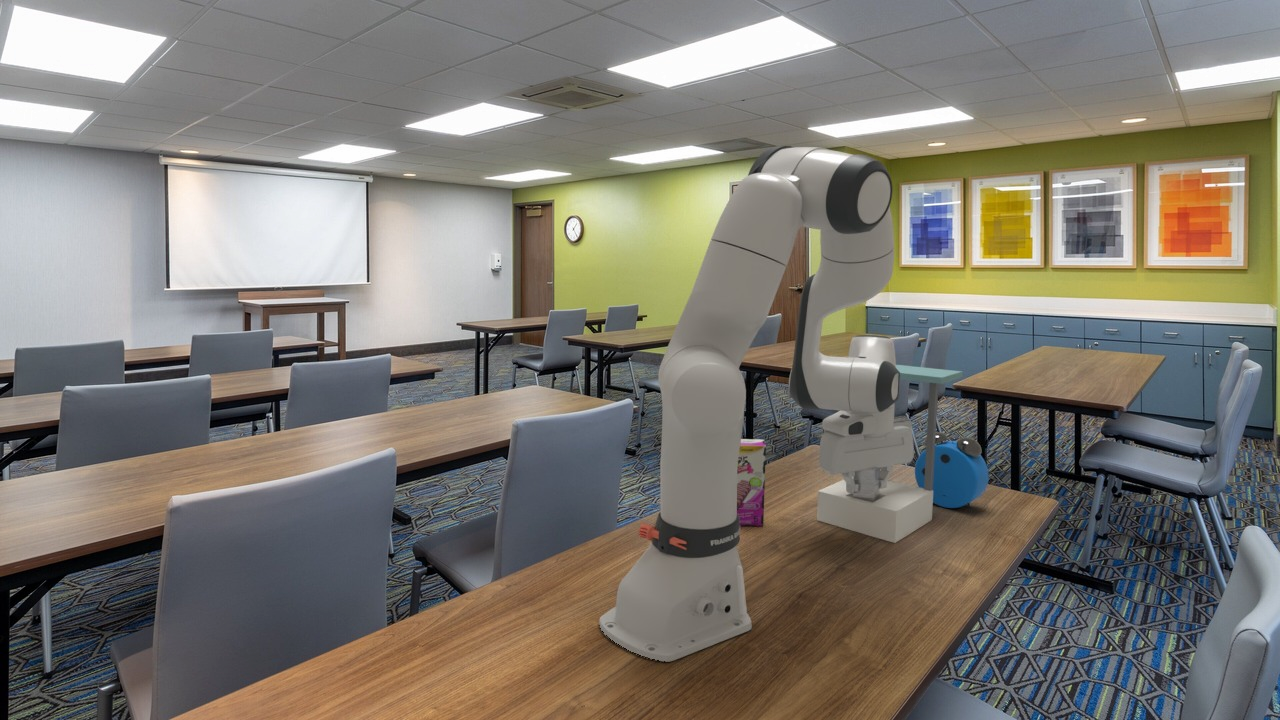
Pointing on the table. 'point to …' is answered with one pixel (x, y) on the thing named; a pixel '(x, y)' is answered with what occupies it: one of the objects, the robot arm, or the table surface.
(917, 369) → the socket block
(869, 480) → the steel peg
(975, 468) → the alarm clock
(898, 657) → the table surface
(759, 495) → the candy bar box
